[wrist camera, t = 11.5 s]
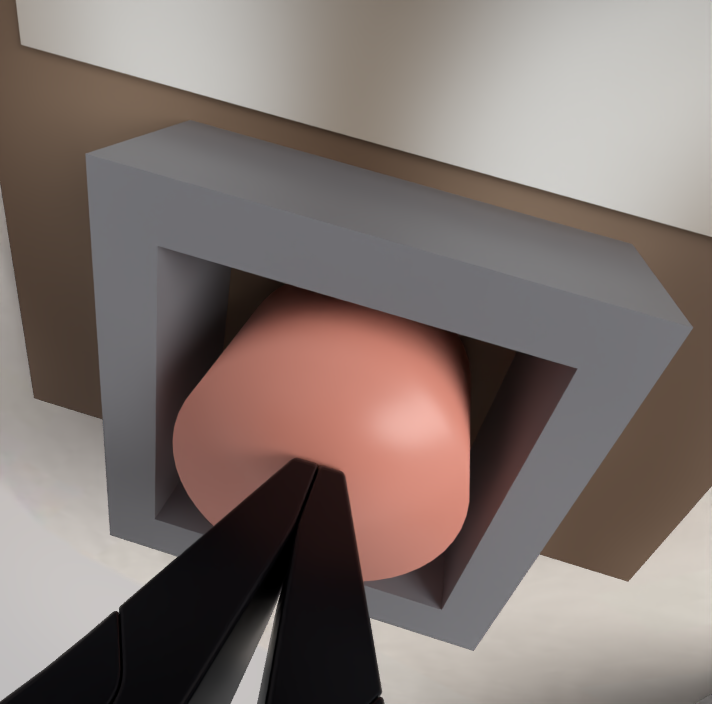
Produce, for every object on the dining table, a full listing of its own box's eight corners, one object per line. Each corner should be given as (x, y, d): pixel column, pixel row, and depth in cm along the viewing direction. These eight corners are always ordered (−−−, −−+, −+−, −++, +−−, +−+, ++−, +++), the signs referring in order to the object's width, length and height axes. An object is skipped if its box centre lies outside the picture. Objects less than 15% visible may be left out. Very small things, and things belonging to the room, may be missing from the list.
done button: (508, 313, 9) (520, 415, 7) (430, 490, 12) (418, 611, 10) (254, 239, 10) (176, 312, 7) (231, 429, 12) (169, 532, 10)
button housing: (632, 244, 9) (692, 327, 6) (473, 534, 13) (473, 650, 11) (190, 119, 9) (85, 154, 7) (177, 442, 14) (110, 535, 11)
